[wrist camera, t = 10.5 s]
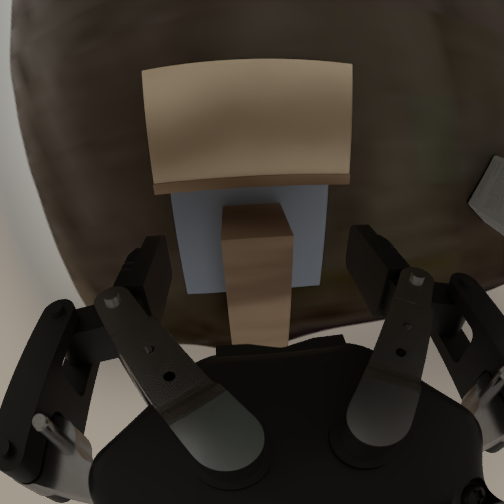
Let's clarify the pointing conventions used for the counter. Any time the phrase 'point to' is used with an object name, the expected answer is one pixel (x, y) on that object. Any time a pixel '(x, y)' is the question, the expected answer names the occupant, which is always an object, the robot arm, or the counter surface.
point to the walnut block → (257, 272)
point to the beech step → (248, 124)
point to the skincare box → (491, 195)
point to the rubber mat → (210, 223)
